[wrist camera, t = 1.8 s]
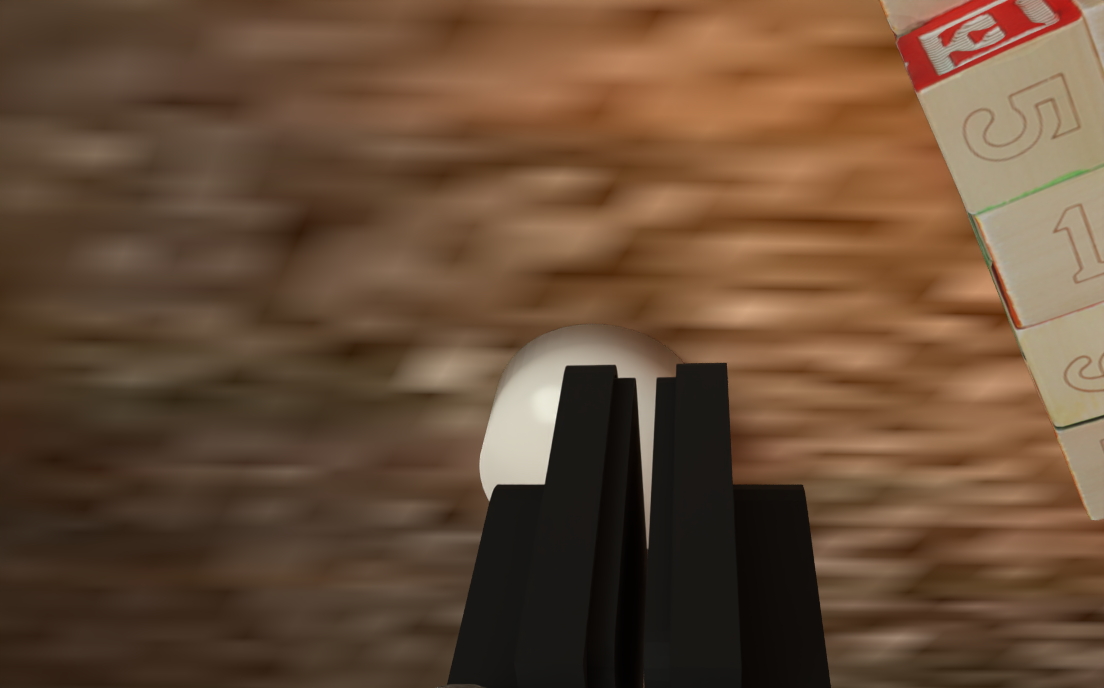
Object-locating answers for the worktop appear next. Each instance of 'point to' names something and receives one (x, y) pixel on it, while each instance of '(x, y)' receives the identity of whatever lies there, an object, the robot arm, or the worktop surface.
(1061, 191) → the stack of blocks
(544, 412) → the cream dome knob
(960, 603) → the worktop surface
